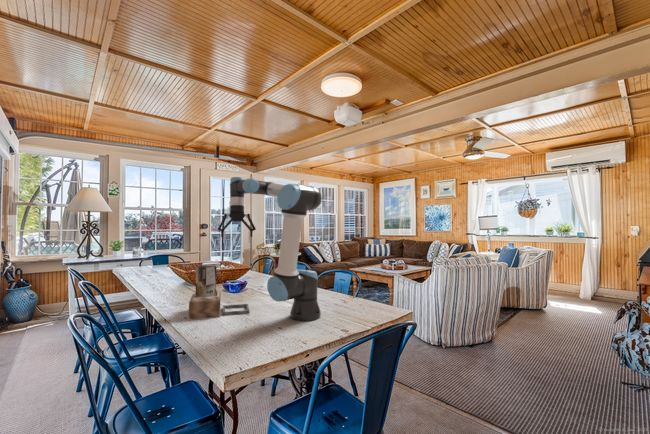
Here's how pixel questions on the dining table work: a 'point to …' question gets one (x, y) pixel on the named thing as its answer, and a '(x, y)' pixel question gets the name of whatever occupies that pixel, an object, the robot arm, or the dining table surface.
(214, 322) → the dining table surface
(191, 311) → the walnut caddy
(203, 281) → the coffee box
